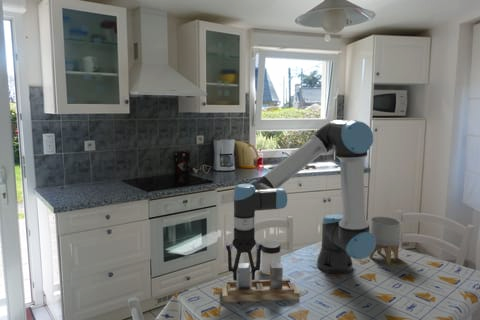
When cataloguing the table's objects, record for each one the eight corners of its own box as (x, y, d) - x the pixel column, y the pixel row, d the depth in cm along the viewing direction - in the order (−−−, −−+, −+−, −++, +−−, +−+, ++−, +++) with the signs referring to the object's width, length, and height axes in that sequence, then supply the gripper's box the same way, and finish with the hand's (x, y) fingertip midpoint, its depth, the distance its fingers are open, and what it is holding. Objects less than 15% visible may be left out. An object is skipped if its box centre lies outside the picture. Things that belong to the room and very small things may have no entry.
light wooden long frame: (294, 288, 142) (295, 260, 140) (299, 299, 134) (300, 269, 132) (222, 291, 140) (221, 262, 138) (222, 302, 132) (222, 271, 130)
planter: (403, 263, 165) (405, 225, 163) (374, 263, 165) (376, 225, 163) (391, 252, 178) (394, 216, 175) (365, 251, 178) (366, 216, 176)
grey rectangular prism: (248, 285, 138) (249, 263, 137) (250, 291, 134) (250, 267, 133) (238, 286, 138) (238, 263, 136) (238, 291, 134) (238, 268, 132)
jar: (268, 277, 151) (268, 249, 149) (256, 270, 158) (256, 243, 156) (284, 272, 156) (285, 245, 154) (272, 265, 163) (273, 239, 161)
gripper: (220, 231, 128) (220, 293, 132) (269, 230, 129) (268, 292, 133) (220, 224, 136) (220, 283, 139) (266, 223, 137) (265, 282, 140)
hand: (243, 287), depth 136 cm, fingers closed on grey rectangular prism, 4 cm apart
